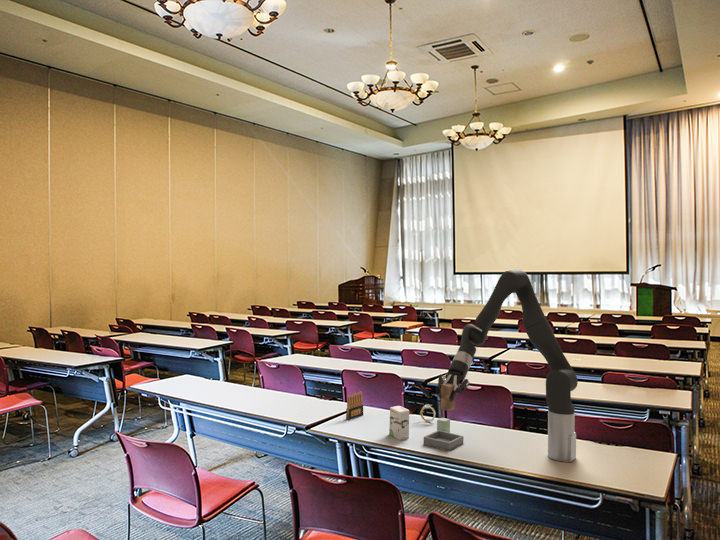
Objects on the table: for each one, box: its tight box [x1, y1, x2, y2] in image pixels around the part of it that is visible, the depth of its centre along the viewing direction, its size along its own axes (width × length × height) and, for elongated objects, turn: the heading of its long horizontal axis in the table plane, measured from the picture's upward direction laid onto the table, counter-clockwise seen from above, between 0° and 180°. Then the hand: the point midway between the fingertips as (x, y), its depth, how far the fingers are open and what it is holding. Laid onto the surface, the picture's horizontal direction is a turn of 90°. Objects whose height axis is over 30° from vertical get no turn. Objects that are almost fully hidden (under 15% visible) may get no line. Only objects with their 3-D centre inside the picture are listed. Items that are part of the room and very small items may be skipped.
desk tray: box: [423, 430, 464, 452], centre depth 202 cm, size 12×12×3 cm
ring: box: [419, 403, 437, 423], centre depth 232 cm, size 7×3×8 cm, turn 61°
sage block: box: [436, 417, 451, 433], centre depth 216 cm, size 4×4×6 cm
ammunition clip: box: [345, 390, 364, 421], centre depth 238 cm, size 11×2×12 cm, turn 140°
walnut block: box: [440, 383, 456, 412], centre depth 203 cm, size 4×4×10 cm
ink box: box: [388, 405, 410, 441], centre depth 211 cm, size 9×5×12 cm, turn 28°
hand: (445, 398), depth 201 cm, fingers closed on walnut block, 4 cm apart
